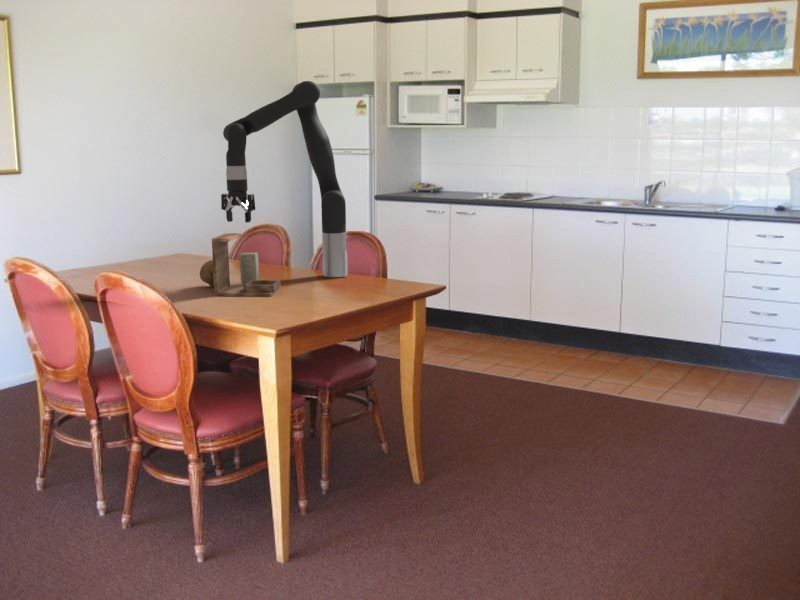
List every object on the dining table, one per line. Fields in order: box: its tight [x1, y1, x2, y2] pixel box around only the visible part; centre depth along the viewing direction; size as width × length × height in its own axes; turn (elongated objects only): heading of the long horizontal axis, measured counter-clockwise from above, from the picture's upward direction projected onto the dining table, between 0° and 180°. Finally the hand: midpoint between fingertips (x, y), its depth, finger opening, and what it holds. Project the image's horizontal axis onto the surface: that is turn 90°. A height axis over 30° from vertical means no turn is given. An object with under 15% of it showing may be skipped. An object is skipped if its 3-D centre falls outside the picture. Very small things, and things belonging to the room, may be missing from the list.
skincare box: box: [238, 251, 261, 286], centre depth 326 cm, size 6×4×12 cm
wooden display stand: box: [211, 232, 282, 297], centre depth 312 cm, size 20×16×20 cm
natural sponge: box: [199, 259, 214, 288], centre depth 324 cm, size 9×9×10 cm
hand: (238, 221), depth 331 cm, fingers open, 8 cm apart
